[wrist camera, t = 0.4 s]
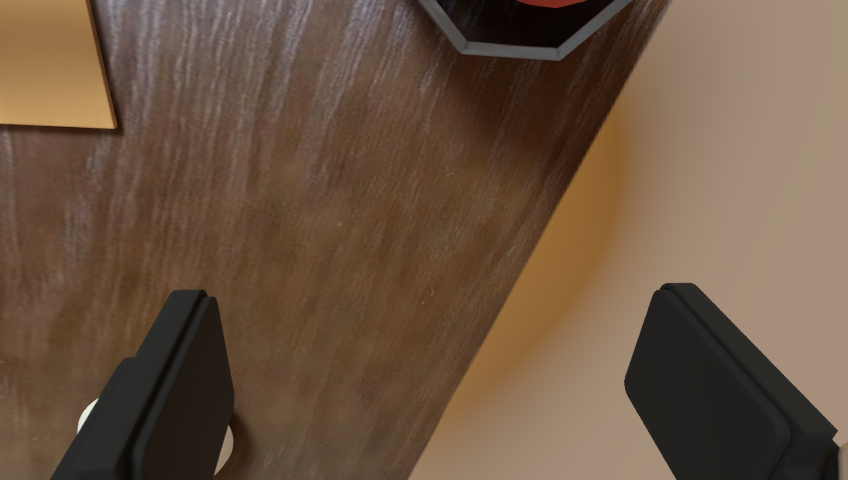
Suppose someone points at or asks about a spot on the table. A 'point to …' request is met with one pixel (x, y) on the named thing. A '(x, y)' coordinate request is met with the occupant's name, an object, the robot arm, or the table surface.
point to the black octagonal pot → (529, 31)
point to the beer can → (551, 2)
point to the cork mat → (52, 65)
